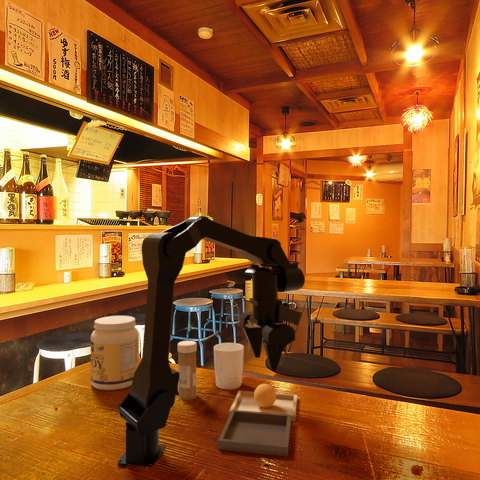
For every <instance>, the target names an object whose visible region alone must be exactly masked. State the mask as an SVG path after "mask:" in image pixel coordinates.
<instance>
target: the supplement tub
mask: <svg viewBox="0 0 480 480" xmlns="http://www.w3.org/2000/svg"><path fill="white" fill-rule="evenodd" d="M135 326H137V324H136V318H135V317H133V316H130V315H110V316H109V315H108V316H104V317H100V318H97V319H96V320H94V325H93V329H94V330H93V331H92V332H91V335H90V383H91V385H92V387H94V388H95V389H98V390H101V391H115V390H116V391H117V390H123V389H126V388H129V387H131V385H132V381H133V377H134V373H135V371H136V369H137V367H138V366H139V364H140V362H139V361H140V358H139V357H140V351H139V347H140V342H139V341H140V337H139V336H140V333H139V330H138V329H137V328H136V327H135Z"/></svg>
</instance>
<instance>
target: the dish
mask: <svg viewBox="0 0 480 480" xmlns="http://www.w3.org/2000/svg"><path fill="white" fill-rule="evenodd" d="M291 425H292V421H291V415H290V414H277V413H265V412H253V411H241V410H232V411H231V413H230V415H229V416H228V418H227V420H226V421H225V424H224V427H223V429H222V431H221V433H220V436H219V438H218V440H217V445H218V446H217V450H220V451H226V452H228V451H229V452H239V453H247V454H256V455H259V454H260V455H265V456H266V455H268V456H278V457H288V455H289V444H290V434H291V427H292V426H291Z"/></svg>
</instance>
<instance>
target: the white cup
mask: <svg viewBox="0 0 480 480" xmlns="http://www.w3.org/2000/svg"><path fill="white" fill-rule="evenodd" d="M244 350H245V348H244V345H243V344H241V343H237V342H221V343H218V344H215V345H214V346H213V363H214V376H215V386H216V387H217V388H219V389H221V390H236V389H238V388H240V387H241V386H242V383H243V381H242V380H243V371H244V370H243V368H244Z"/></svg>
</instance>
